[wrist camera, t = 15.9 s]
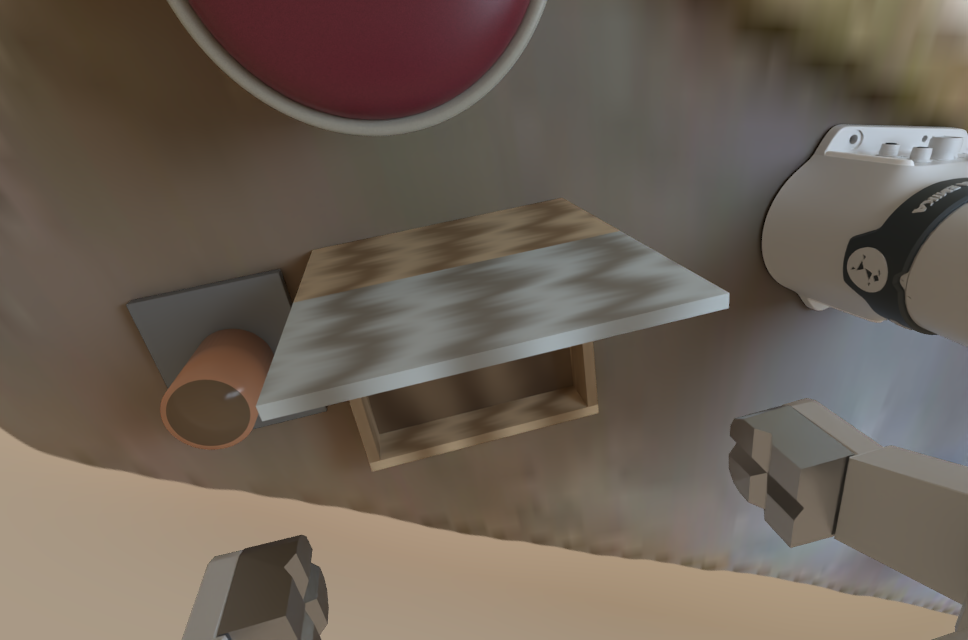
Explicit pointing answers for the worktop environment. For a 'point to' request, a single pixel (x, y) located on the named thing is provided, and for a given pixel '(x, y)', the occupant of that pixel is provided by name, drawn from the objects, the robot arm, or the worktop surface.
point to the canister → (364, 55)
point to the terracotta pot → (218, 390)
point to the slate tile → (213, 321)
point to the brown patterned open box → (470, 326)
